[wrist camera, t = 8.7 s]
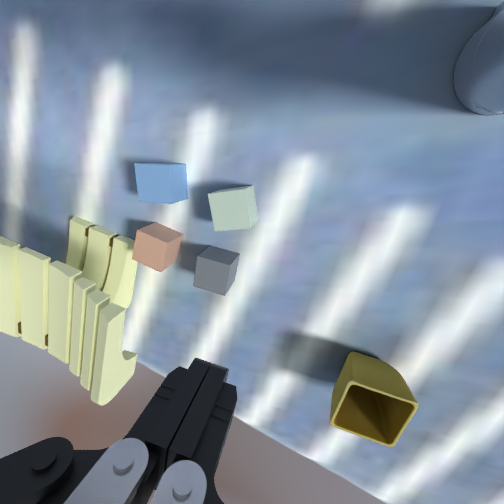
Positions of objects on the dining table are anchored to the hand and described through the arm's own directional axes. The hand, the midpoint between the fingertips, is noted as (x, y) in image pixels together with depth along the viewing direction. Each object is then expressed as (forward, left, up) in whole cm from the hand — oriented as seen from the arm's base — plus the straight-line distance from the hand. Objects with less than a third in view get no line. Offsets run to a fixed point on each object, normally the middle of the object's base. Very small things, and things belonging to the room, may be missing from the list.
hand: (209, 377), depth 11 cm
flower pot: (+20, +18, -29) cm, 40 cm away
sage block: (-1, -7, -29) cm, 30 cm away
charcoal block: (+9, -8, -29) cm, 31 cm away
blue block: (-2, -18, -29) cm, 34 cm away
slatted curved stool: (+17, -30, -29) cm, 45 cm away
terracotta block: (+8, -18, -29) cm, 35 cm away
